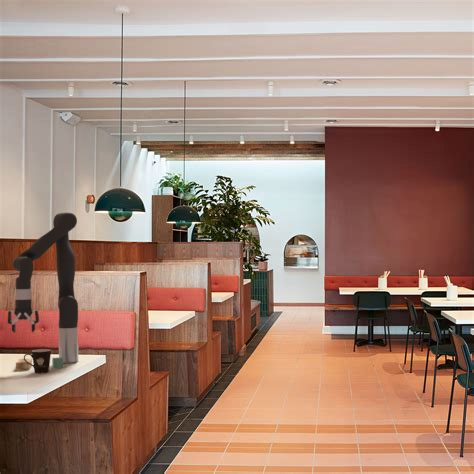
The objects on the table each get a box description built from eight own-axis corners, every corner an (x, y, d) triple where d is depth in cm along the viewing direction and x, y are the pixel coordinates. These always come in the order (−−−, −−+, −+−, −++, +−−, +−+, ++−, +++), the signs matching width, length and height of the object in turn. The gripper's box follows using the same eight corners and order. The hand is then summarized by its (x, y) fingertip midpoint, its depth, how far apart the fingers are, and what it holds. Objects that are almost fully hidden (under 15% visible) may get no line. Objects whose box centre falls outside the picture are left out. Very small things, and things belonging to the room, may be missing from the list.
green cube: (62, 366, 333) (61, 357, 333) (63, 368, 329) (63, 358, 329) (52, 367, 331) (52, 357, 331) (53, 368, 327) (53, 359, 327)
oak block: (31, 366, 335) (31, 358, 335) (29, 370, 324) (29, 362, 324) (19, 367, 334) (18, 359, 334) (15, 371, 323) (15, 362, 323)
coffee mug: (55, 370, 321) (54, 349, 321) (44, 374, 312) (43, 352, 313) (33, 369, 324) (33, 348, 324) (22, 373, 316) (22, 351, 316)
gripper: (39, 297, 334) (40, 331, 334) (9, 298, 333) (9, 331, 332) (37, 298, 327) (37, 332, 327) (6, 299, 325) (6, 333, 325)
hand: (23, 332), depth 330 cm, fingers open, 8 cm apart
